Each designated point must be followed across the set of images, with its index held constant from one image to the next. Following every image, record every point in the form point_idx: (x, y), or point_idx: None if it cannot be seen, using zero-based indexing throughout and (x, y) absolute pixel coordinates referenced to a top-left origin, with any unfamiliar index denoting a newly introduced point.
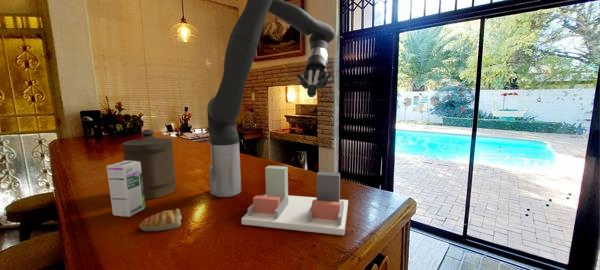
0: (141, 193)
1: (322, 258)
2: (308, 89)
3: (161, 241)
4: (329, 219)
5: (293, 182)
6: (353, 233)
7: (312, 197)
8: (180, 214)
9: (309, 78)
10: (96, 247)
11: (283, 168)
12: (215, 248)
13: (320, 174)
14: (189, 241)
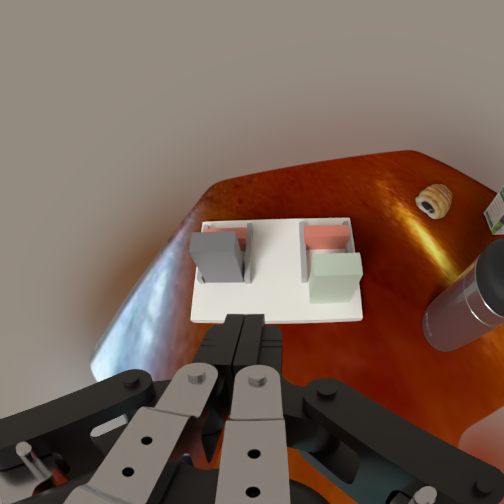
0: (501, 217)
1: (228, 185)
2: (271, 347)
3: (404, 178)
4: None
5: None
6: None
7: None
8: (434, 216)
9: (266, 421)
10: (443, 164)
11: (318, 258)
12: (343, 177)
13: (227, 234)
14: (378, 182)
